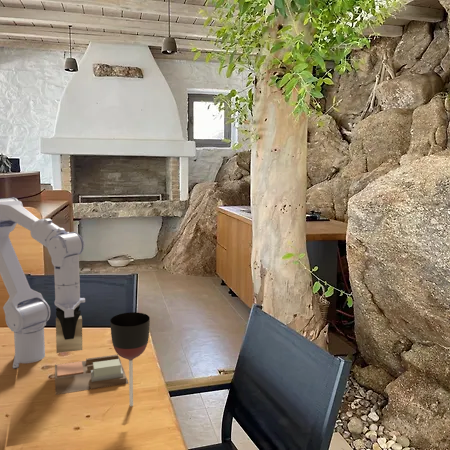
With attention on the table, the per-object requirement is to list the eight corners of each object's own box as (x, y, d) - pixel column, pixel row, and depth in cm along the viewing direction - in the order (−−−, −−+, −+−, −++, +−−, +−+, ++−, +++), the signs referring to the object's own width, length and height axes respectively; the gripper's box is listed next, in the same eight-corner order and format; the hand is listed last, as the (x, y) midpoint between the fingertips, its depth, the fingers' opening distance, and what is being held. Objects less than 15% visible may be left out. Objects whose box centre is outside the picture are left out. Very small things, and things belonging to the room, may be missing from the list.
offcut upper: (93, 370, 107) (92, 362, 107) (118, 366, 110) (118, 358, 109) (94, 377, 104) (94, 368, 104) (120, 373, 106) (120, 365, 106)
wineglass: (152, 399, 101) (152, 312, 98) (147, 420, 92) (146, 326, 89) (116, 399, 100) (115, 312, 98) (108, 421, 92) (106, 326, 89)
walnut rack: (55, 368, 115) (54, 360, 114) (118, 359, 120) (118, 351, 120) (55, 398, 100) (55, 389, 100) (128, 387, 106) (128, 378, 105)
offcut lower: (91, 378, 108) (90, 370, 107) (120, 373, 110) (120, 366, 110) (92, 386, 104) (92, 377, 104) (123, 381, 106) (123, 373, 106)
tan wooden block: (56, 349, 112) (55, 318, 110) (81, 346, 114) (81, 315, 113) (56, 353, 109) (55, 321, 108) (82, 350, 111) (82, 318, 110)
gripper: (86, 289, 104) (88, 345, 106) (82, 274, 117) (83, 324, 119) (54, 291, 101) (56, 349, 103) (53, 276, 115) (55, 328, 117)
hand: (69, 336), depth 111 cm, fingers closed on tan wooden block, 2 cm apart
